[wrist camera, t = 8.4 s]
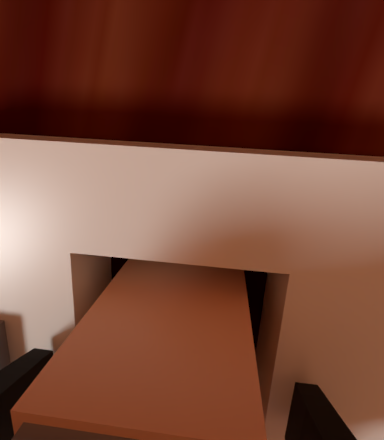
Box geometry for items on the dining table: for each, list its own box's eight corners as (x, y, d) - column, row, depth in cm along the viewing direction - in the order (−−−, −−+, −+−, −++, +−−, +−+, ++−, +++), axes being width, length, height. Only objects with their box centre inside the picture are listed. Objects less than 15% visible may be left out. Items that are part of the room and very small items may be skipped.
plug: (227, 385, 13) (231, 722, 5) (137, 373, 13) (26, 674, 6) (242, 256, 11) (274, 497, 4) (137, 247, 11) (-21, 448, 4)
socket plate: (376, 480, 13) (431, 606, 10) (-1, 421, 15) (-72, 512, 11) (481, 162, 9) (642, 180, 6) (-51, 129, 11) (-186, 128, 7)
